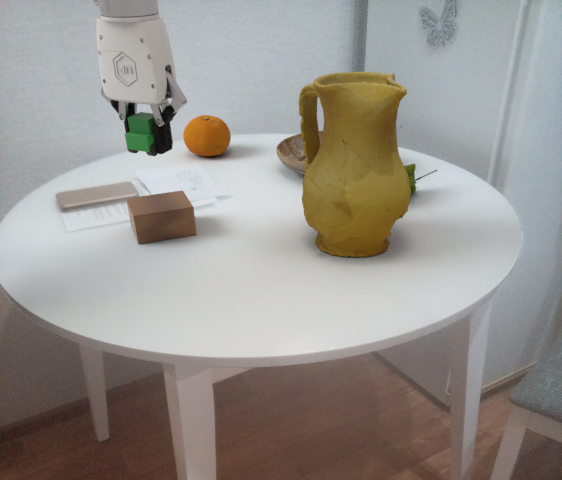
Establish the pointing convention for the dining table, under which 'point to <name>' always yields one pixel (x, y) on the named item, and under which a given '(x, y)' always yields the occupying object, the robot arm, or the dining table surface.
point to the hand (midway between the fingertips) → (150, 147)
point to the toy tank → (413, 176)
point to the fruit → (207, 136)
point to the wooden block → (161, 216)
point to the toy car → (141, 134)
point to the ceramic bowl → (293, 153)
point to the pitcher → (353, 162)
